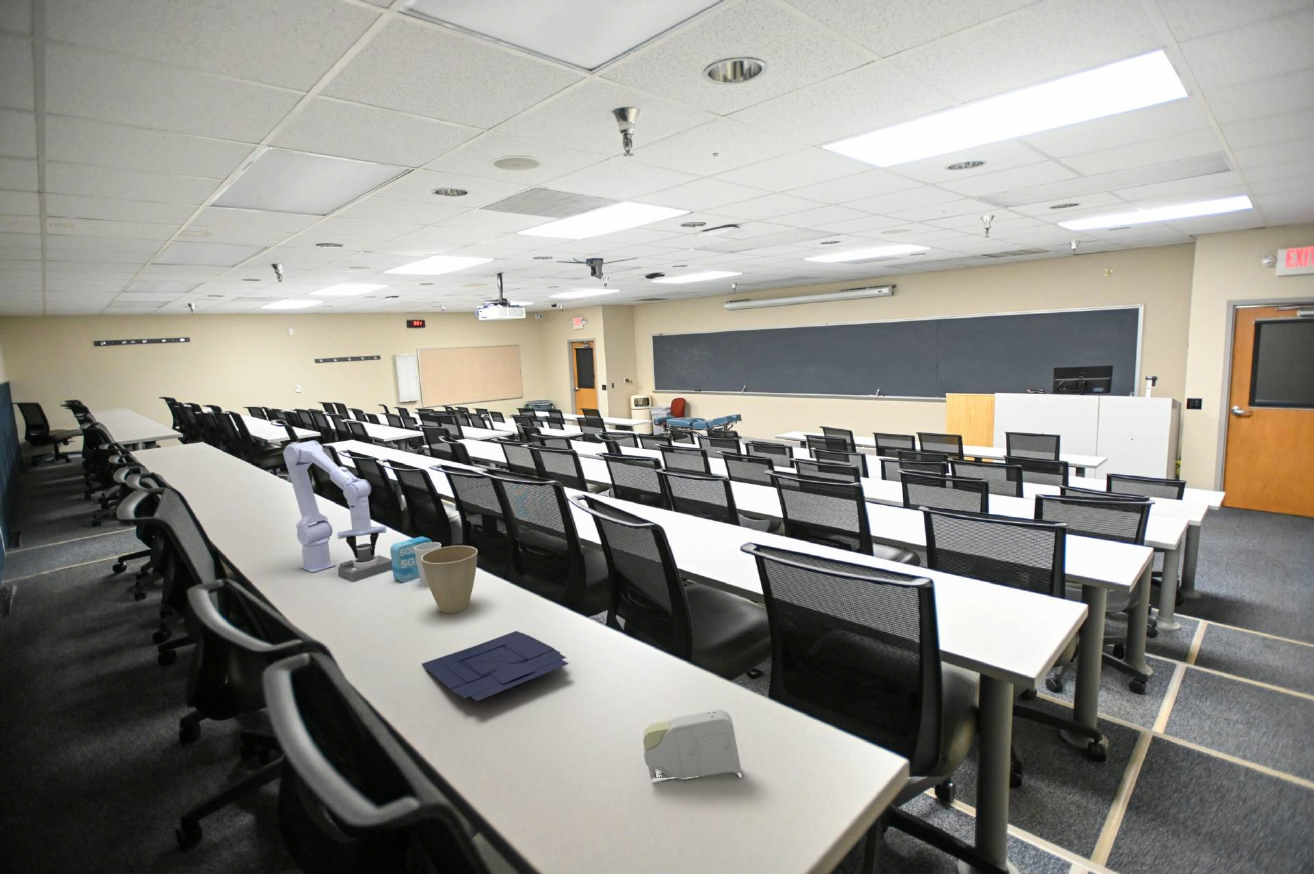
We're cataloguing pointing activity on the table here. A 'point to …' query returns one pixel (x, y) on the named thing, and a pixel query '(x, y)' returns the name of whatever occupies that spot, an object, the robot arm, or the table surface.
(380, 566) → the camera body
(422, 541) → the data package
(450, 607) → the plant pot
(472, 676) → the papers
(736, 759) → the toy camper
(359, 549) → the lens
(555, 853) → the table surface
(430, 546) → the cup
